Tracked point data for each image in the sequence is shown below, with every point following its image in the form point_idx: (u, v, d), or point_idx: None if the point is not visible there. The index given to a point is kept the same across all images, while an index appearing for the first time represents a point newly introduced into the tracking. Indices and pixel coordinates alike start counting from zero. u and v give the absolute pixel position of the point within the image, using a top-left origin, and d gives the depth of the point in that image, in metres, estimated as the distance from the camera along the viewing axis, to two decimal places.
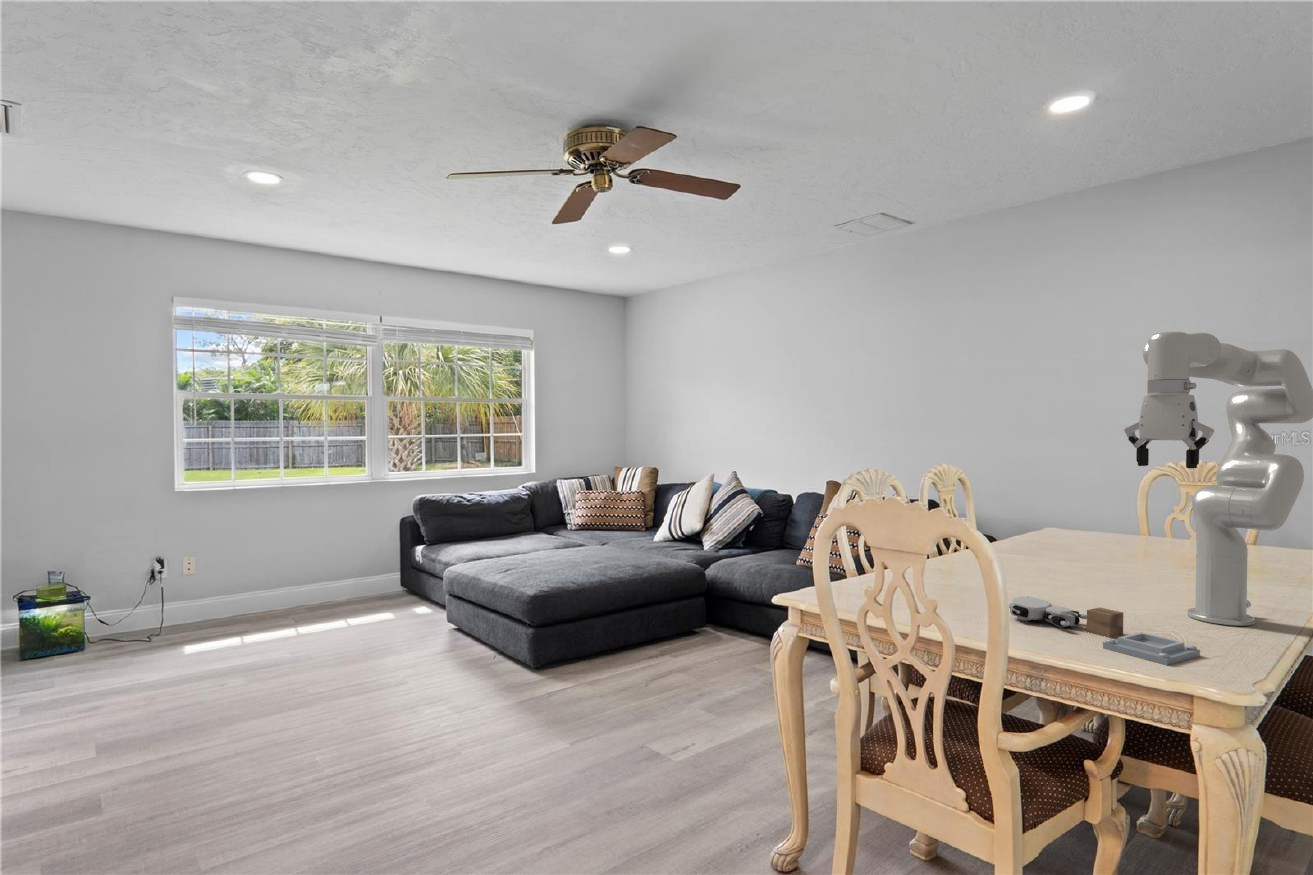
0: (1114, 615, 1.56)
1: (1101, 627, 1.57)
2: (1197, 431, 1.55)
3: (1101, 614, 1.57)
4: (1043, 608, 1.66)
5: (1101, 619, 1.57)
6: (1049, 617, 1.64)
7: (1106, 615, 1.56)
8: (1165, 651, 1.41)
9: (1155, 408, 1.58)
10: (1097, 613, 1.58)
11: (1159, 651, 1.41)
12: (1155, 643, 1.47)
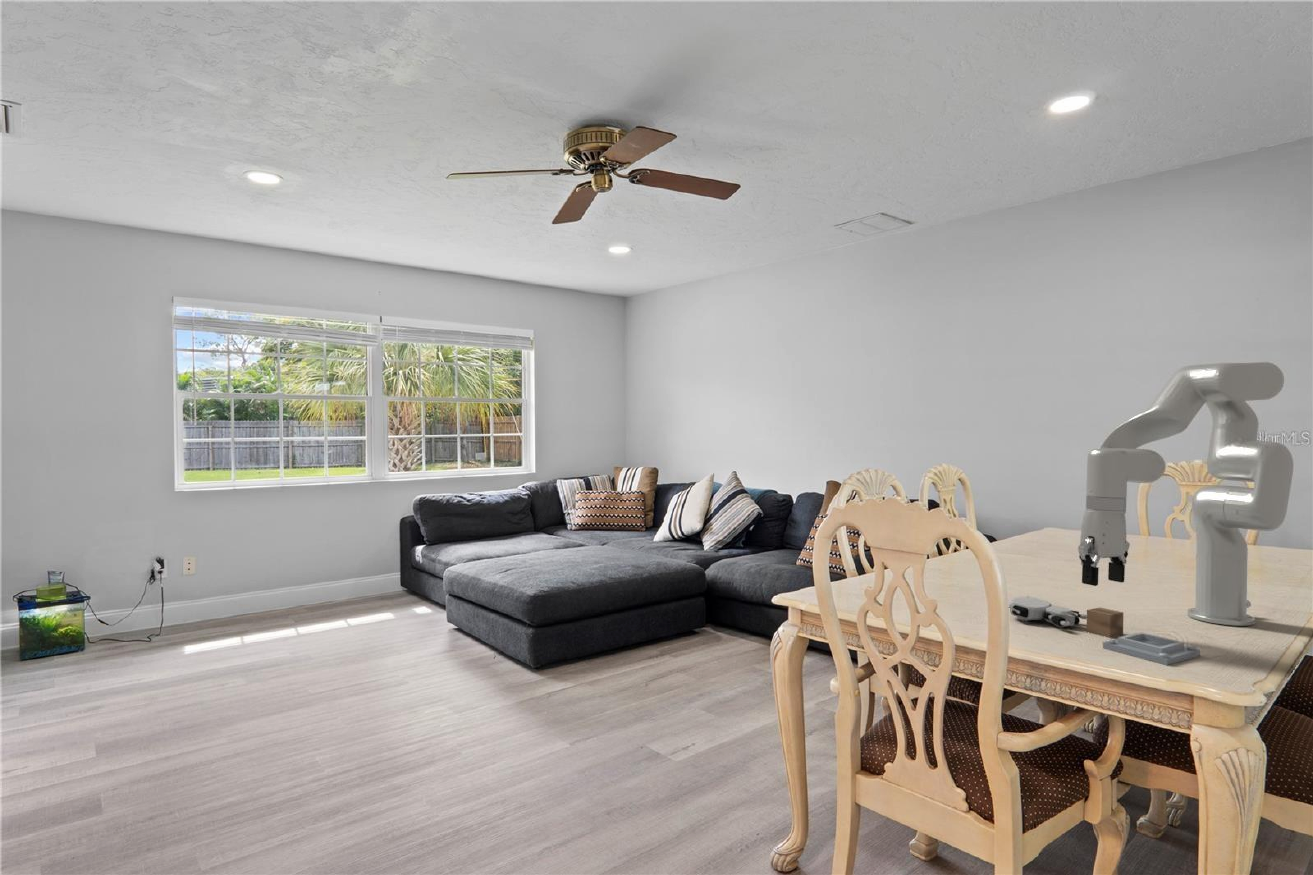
0: (1114, 615, 1.56)
1: (1101, 627, 1.57)
2: None
3: (1101, 614, 1.57)
4: (1042, 608, 1.66)
5: (1101, 619, 1.57)
6: (1049, 617, 1.64)
7: (1106, 615, 1.56)
8: (1165, 651, 1.41)
9: (1113, 526, 1.55)
10: (1097, 613, 1.58)
11: (1159, 651, 1.41)
12: (1155, 643, 1.47)
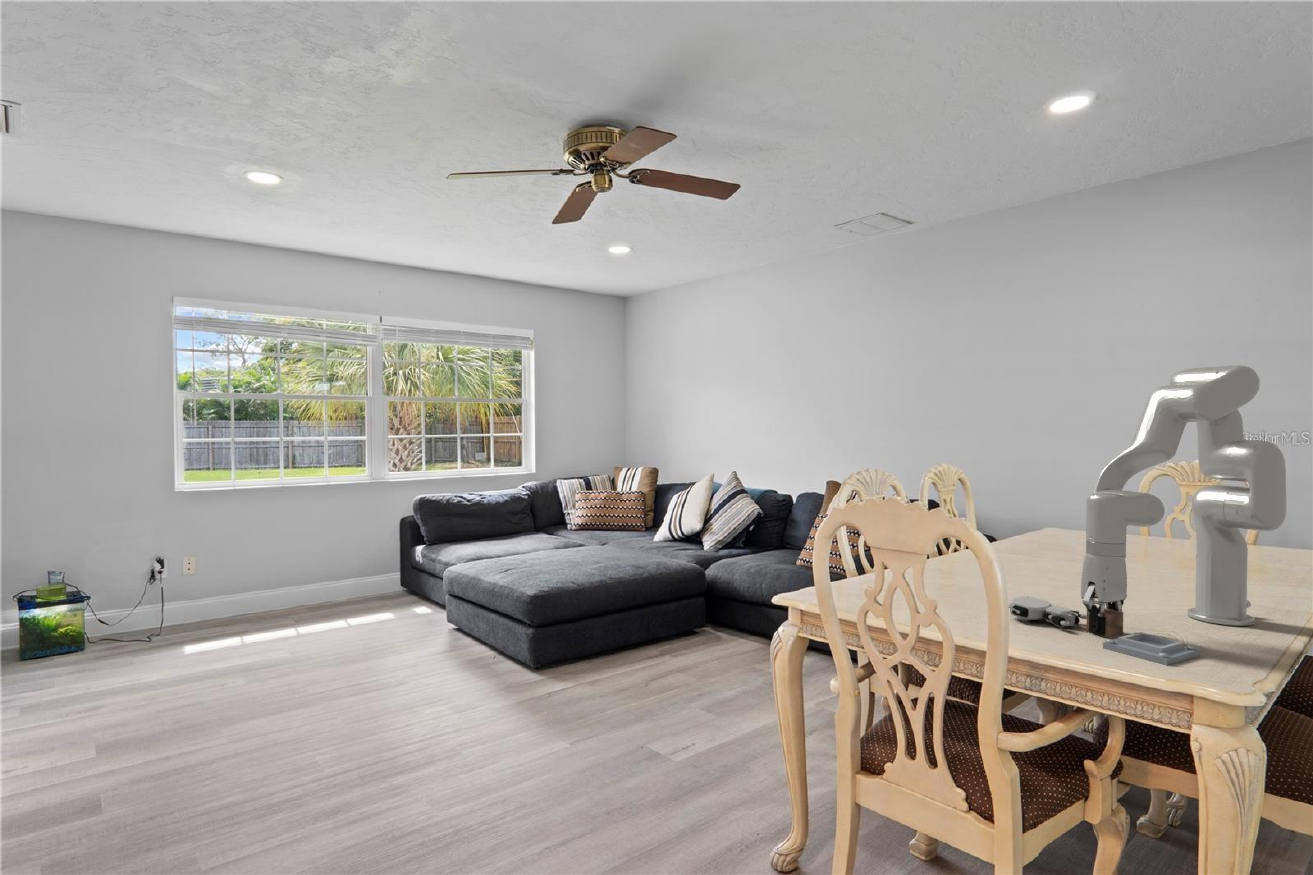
0: (1114, 615, 1.56)
1: None
2: None
3: None
4: (1042, 608, 1.66)
5: None
6: (1049, 617, 1.64)
7: (1106, 615, 1.56)
8: (1165, 651, 1.41)
9: (1113, 571, 1.56)
10: None
11: (1159, 651, 1.41)
12: (1155, 643, 1.47)
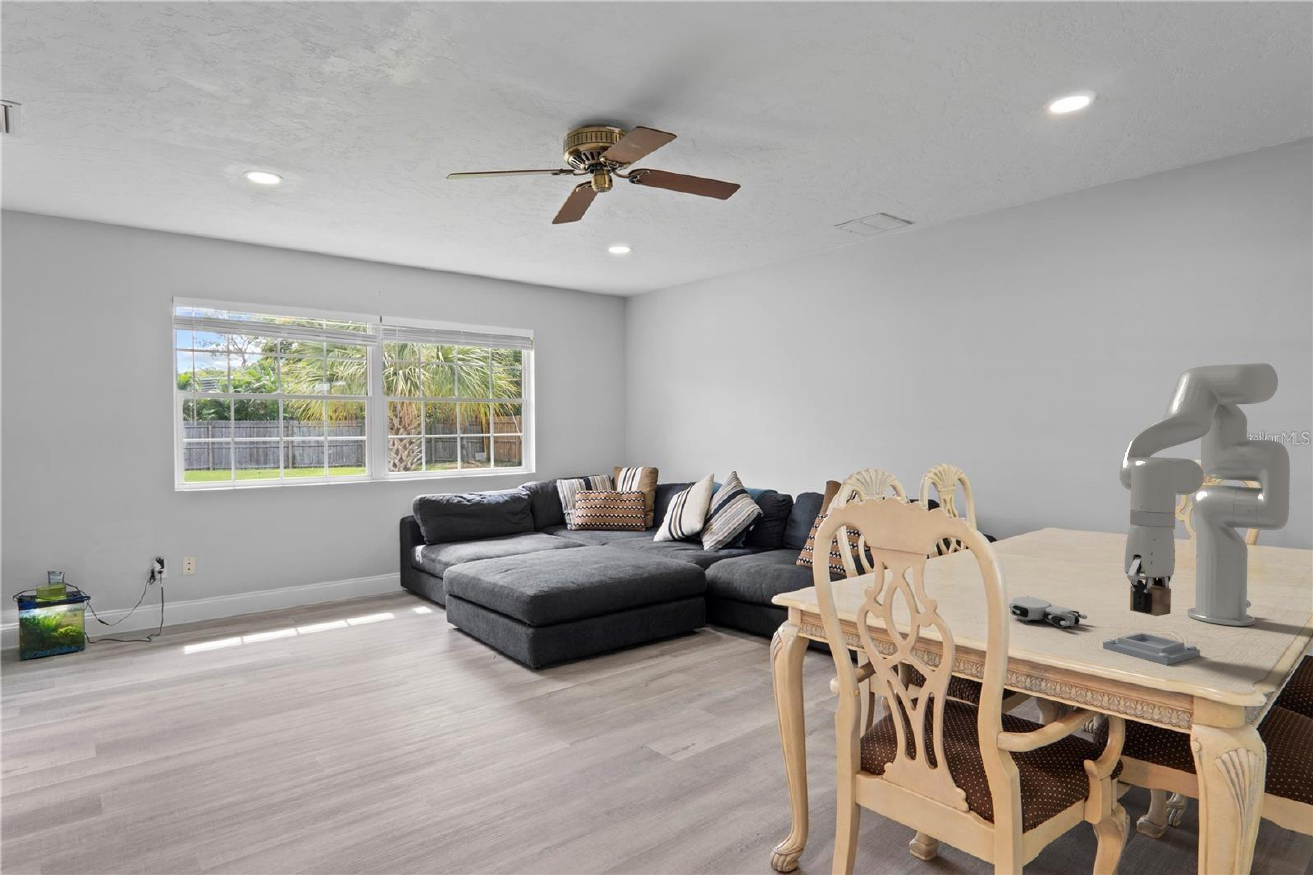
0: (1161, 591, 1.43)
1: None
2: None
3: None
4: (1042, 608, 1.66)
5: None
6: (1049, 617, 1.64)
7: (1153, 591, 1.43)
8: (1165, 651, 1.41)
9: (1161, 543, 1.42)
10: None
11: (1159, 651, 1.41)
12: (1155, 643, 1.47)
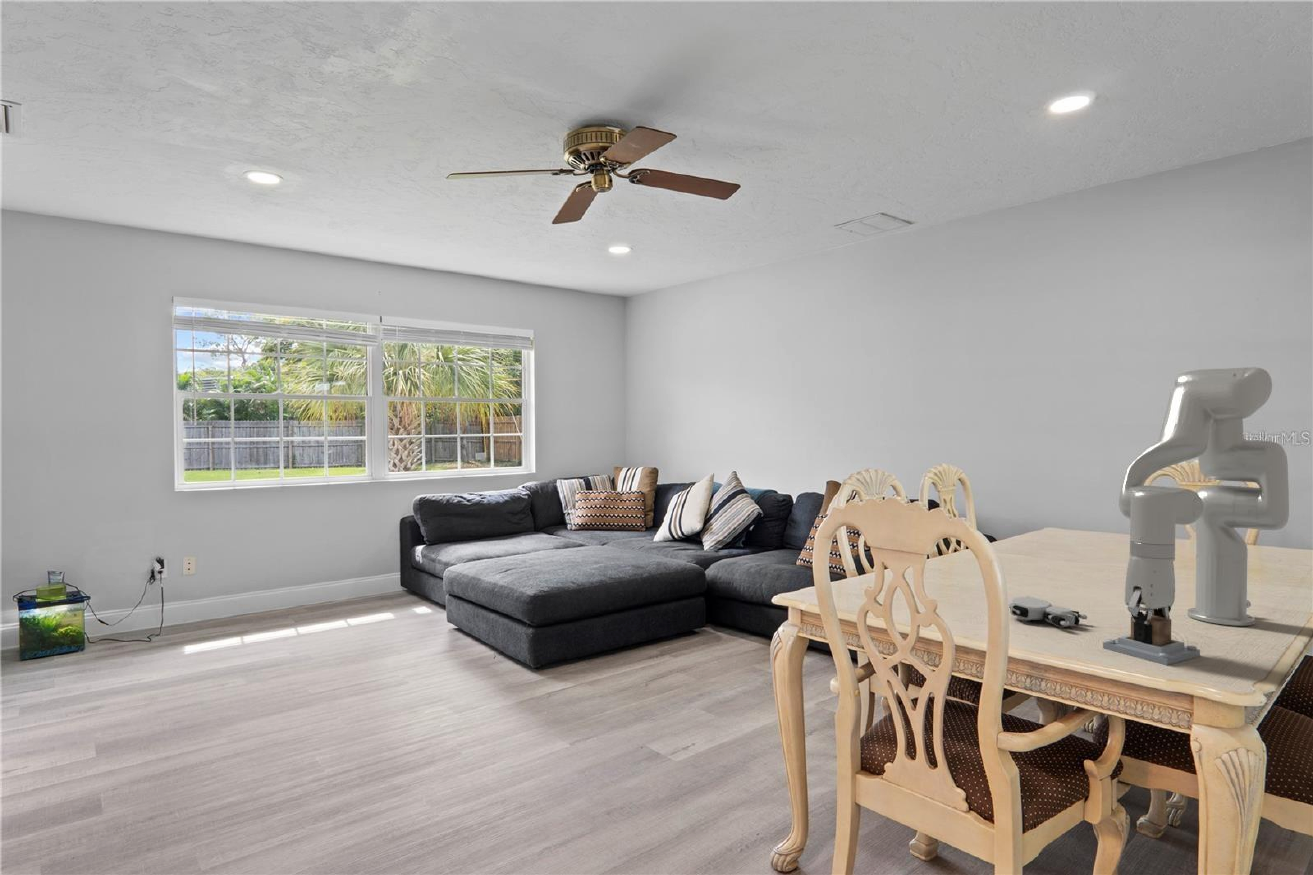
0: (1162, 622, 1.43)
1: None
2: None
3: None
4: (1042, 608, 1.66)
5: None
6: (1049, 617, 1.64)
7: (1153, 622, 1.43)
8: (1165, 651, 1.41)
9: (1161, 575, 1.43)
10: None
11: (1159, 651, 1.41)
12: None
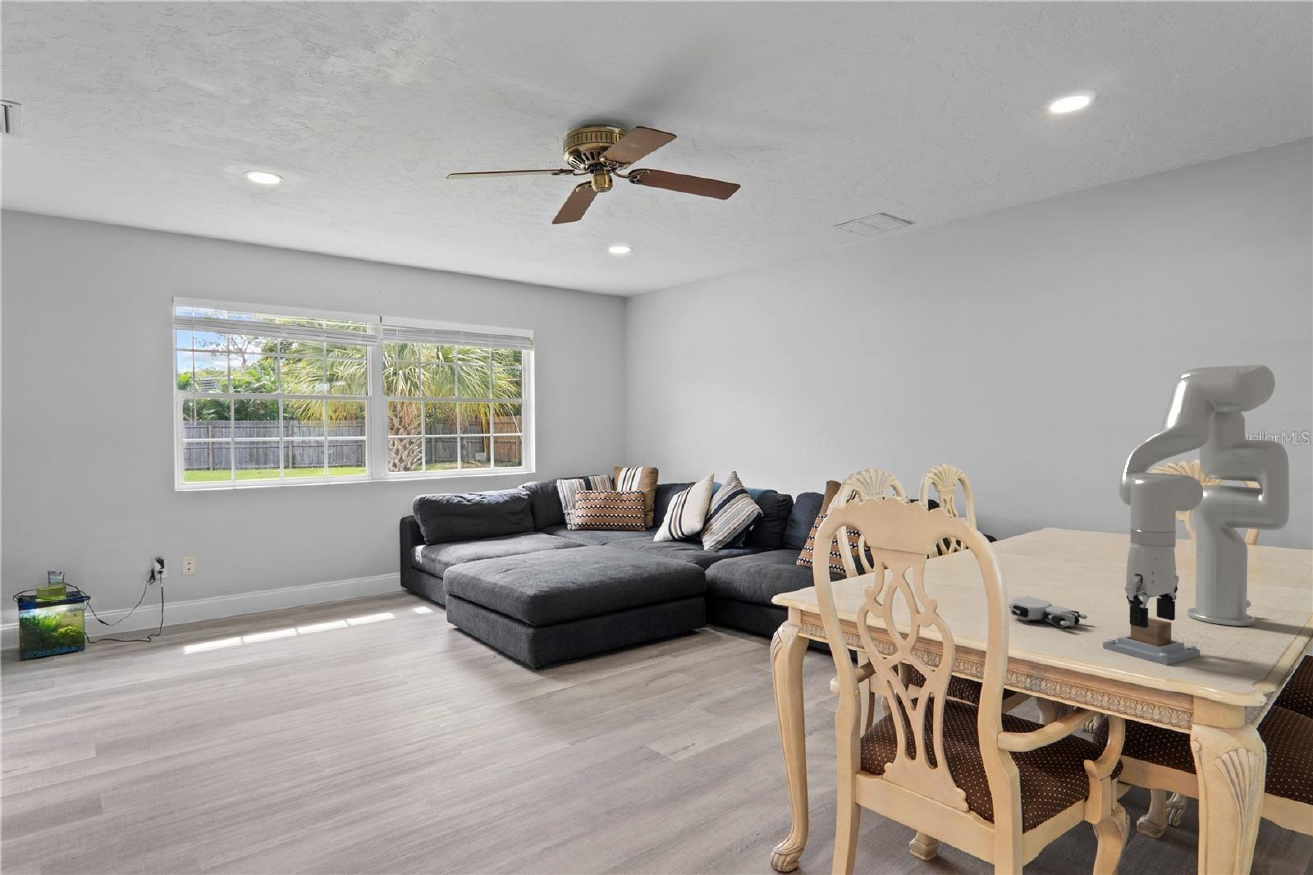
0: (1162, 626, 1.43)
1: (1147, 638, 1.44)
2: None
3: None
4: (1042, 608, 1.66)
5: (1147, 630, 1.44)
6: (1049, 617, 1.64)
7: (1153, 626, 1.43)
8: (1165, 651, 1.41)
9: (1162, 562, 1.43)
10: None
11: (1159, 651, 1.41)
12: None
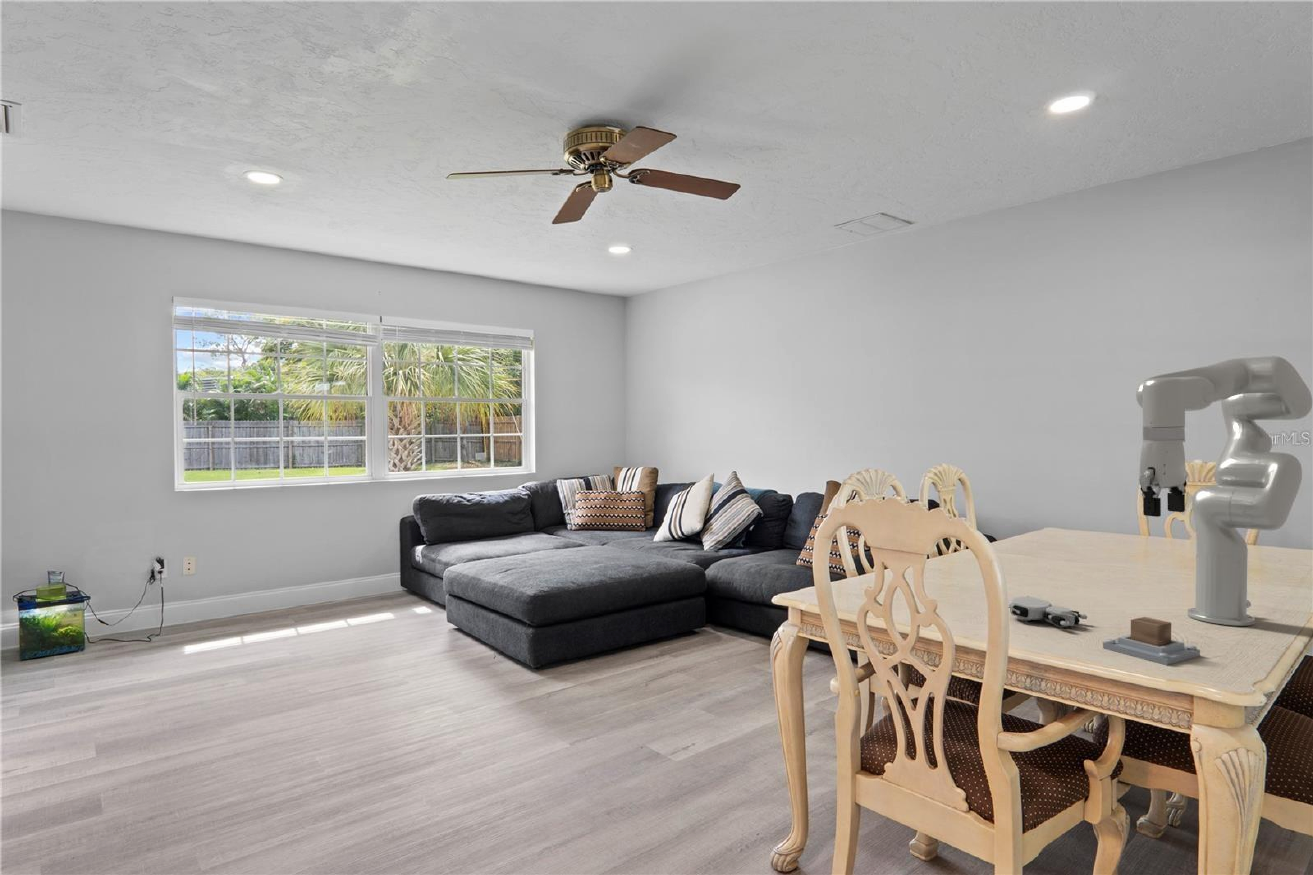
0: (1162, 626, 1.43)
1: (1147, 638, 1.44)
2: None
3: (1147, 624, 1.44)
4: (1042, 608, 1.66)
5: (1147, 630, 1.44)
6: (1049, 617, 1.64)
7: (1153, 626, 1.43)
8: (1165, 651, 1.41)
9: (1173, 455, 1.54)
10: (1142, 623, 1.45)
11: (1159, 651, 1.41)
12: None
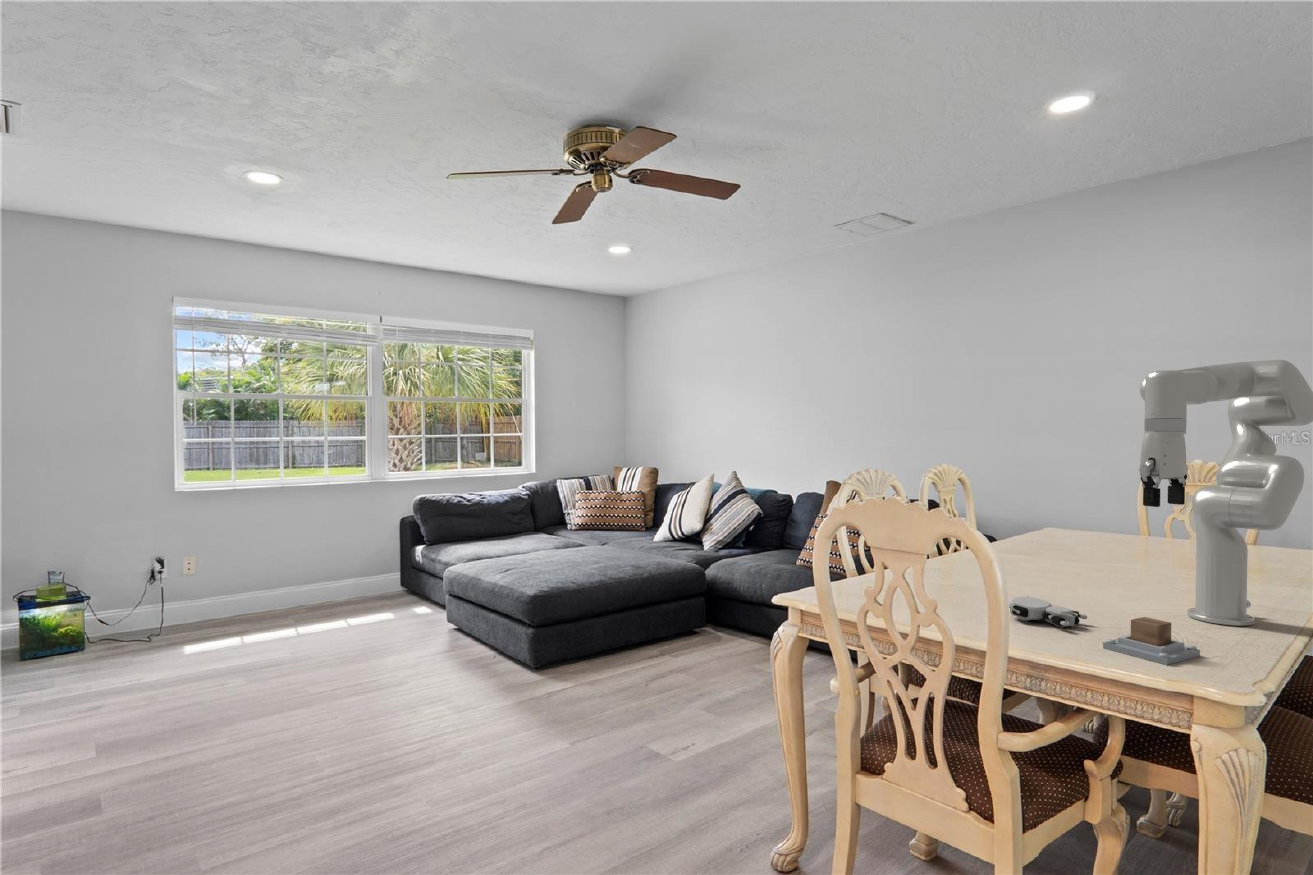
0: (1162, 626, 1.43)
1: (1147, 638, 1.44)
2: None
3: (1147, 624, 1.44)
4: (1042, 608, 1.66)
5: (1147, 630, 1.44)
6: (1049, 617, 1.64)
7: (1153, 626, 1.43)
8: (1165, 651, 1.41)
9: (1174, 447, 1.55)
10: (1142, 623, 1.45)
11: (1159, 651, 1.41)
12: None
